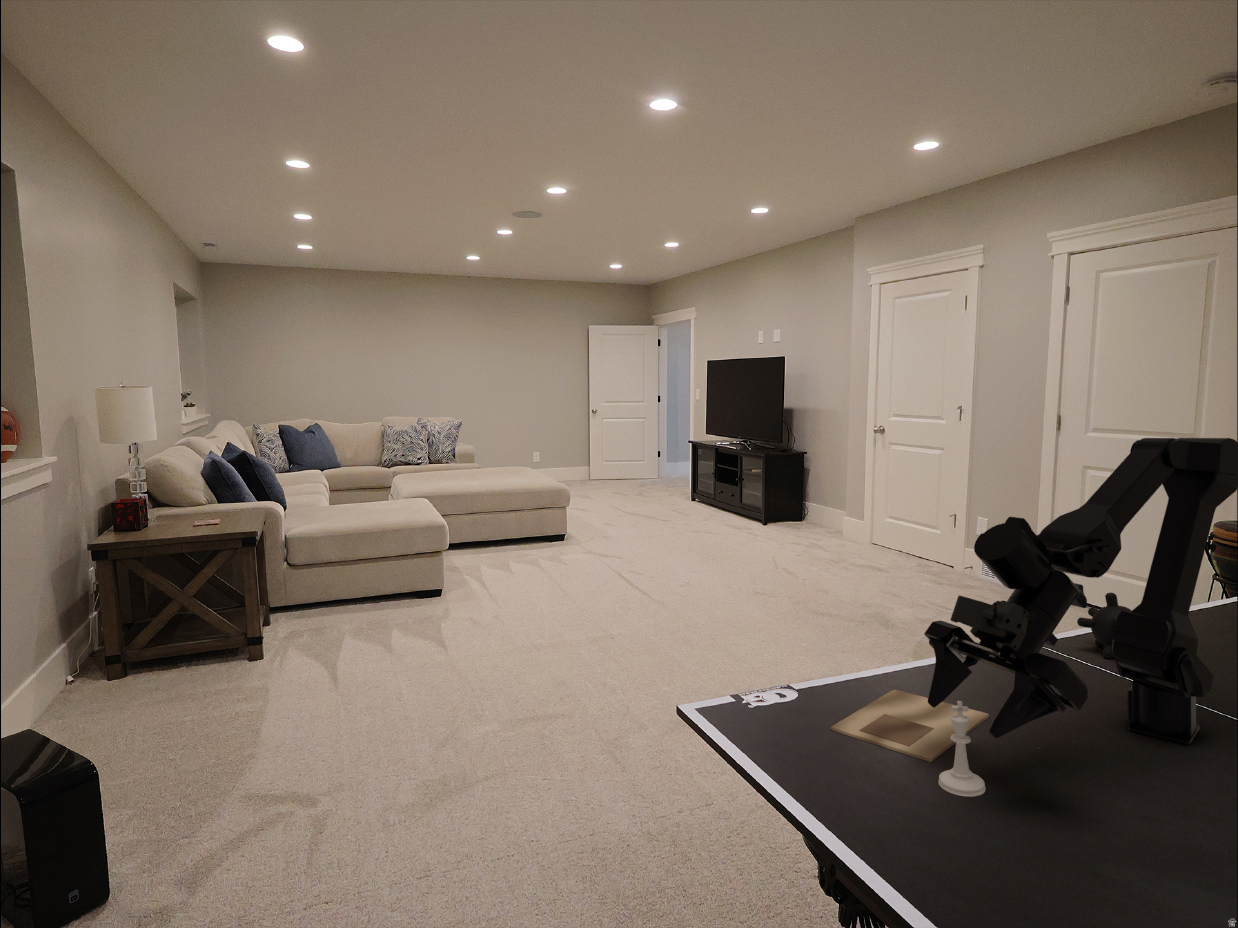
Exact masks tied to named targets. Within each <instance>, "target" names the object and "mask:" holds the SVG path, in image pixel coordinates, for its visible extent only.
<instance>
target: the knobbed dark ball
mask: <svg viewBox="0 0 1238 928" xmlns="http://www.w3.org/2000/svg"><path fill="white" fill-rule="evenodd" d="M1104 597H1105V602H1106V603H1105V604H1106V606H1103V607H1101V608H1100V609H1098V608H1096V607H1092V606H1091V607H1089V608H1088V610H1087V613H1088V615H1089V616H1090V617H1091V618H1087V617H1078V619H1077V621H1076V623H1077V626H1079V627H1082V628H1087V629H1090V631H1091V632H1092V635H1093V637H1094V645H1095V646H1096V647H1098V648H1101V649H1102V648H1103V650H1102V656H1103V657H1104V658H1105V659H1108V660H1112V659H1113V658H1114V655H1113V653H1112V642H1113V640H1111V637H1112V635H1113V634H1114V631H1115V629H1116V624H1117V617H1118V615H1119V614H1120V612H1121V611H1127V612H1131V611H1132V610H1133V609H1131V608H1128V607H1126V606H1123V605H1119V602H1118V596H1117V594H1116V593H1114V592H1107V593H1106V594H1105V595H1104Z"/></svg>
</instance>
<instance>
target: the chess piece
mask: <svg viewBox="0 0 1238 928" xmlns="http://www.w3.org/2000/svg"><path fill="white" fill-rule="evenodd" d="M956 702H957V703H956V706H952V711H958V714H957V715H953V716H951V722H952V724H953V727H954V730H955V732H956V733H955V734H952V735H951V740H952V741H954V742H956V743H955V751H954V754H955V755H954V759H953V760H954V762H953V767H952V768H951V769H948V770H944V771H942V772H941V773H940V774H939V776H938V786H940V788H942V789H943V790H944V791H945V792H948V793H949V794H952V795H955V796H958V797H959V796H961V797H967V798H968V797H970V798H972V797H978V796H982V795H983V794H984V793H985V792H986V785H985V783H986V782H985V781H984V779H982V778H981V776H979V775H978V774H976V773H973V772H972V771H971V770H970V767H969V761H968V755H967V747H966V745H967V744H969V743H971V742H972V741H971V737H970V736H969V735H968V734H966V731H967V728H968V725H969V723H970V719H969V718H968V717H967V716H964V715H963V711H964V712H968V709H969V707H968V705H967V706H966V705H965V706H964V705H963V701H962V700H957V701H956ZM965 734H966V735H965Z"/></svg>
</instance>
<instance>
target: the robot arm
mask: <svg viewBox="0 0 1238 928" xmlns="http://www.w3.org/2000/svg"><path fill="white" fill-rule="evenodd" d="M1162 486H1163V489H1164V490H1165V493H1166V496H1167V497H1168V498H1167V504H1166V507H1165V512H1164V515H1163V519H1162V522H1161V525H1160V526H1161V527H1160V530H1159V534H1158V539H1157V542H1156V546H1155V550H1154V553H1153V557H1152V560H1151V564H1150V568H1149V572H1148V576H1147V579H1146V583H1145V588H1144V591H1143V595H1142V598H1141V601H1140V603H1139V604H1138V605H1137V606H1136V607H1134V608H1133V609H1131V610H1132V611H1131V612H1127V611H1121V612H1120V614H1119V615H1118V617H1117V624H1116V629H1115V631H1114V634H1113V635H1112V637H1111V640H1113V642H1112V653H1113V655H1114V657H1113V658H1114V662H1115V664H1116V668H1117V672H1118V675H1119V677H1121V678H1125V679H1130V680H1132V681H1131V687H1130V688H1129V689H1128V690H1127V691H1126V704H1127V705H1126V709H1127V710H1126V712H1127V714H1126V719H1127V721H1128V722H1130V723H1129V724H1128V729H1127V730H1129V731H1131V732H1135V733H1140V734H1144V735H1147V736H1152V737H1156V738H1159V739H1164V740H1167V741H1168V740H1169V741H1172V742H1177V743H1181V744H1186V745H1190V744H1192V742H1193V741H1194V739H1195V738H1196V736H1197V734H1198V732H1199V731H1200V726H1201V725H1200V724H1198V723H1197V698H1198V697H1199V698H1205V697H1206V696H1207V693H1210V692H1211V690H1212V687H1213V682H1214V674H1213V673H1212V672H1211V671H1210V670H1209V668H1208V667H1207V666H1206V664H1205V663H1203V661H1202V660H1201V659H1200V657H1198V655H1197V650H1198V647H1199V645H1198V644H1199V639H1198V636H1197V634H1196V631H1195V629H1194V627H1193V623H1192V621H1191V619H1190V617H1189V614H1190V609H1191V606H1192V605H1191V604H1192V600H1193V598H1194V594H1195V589H1196V586H1197V582H1198V578H1199V574H1200V570H1201V566H1202V564H1203V558H1204V555H1205V552H1206V547H1207V543H1208V539H1209V535H1210V531H1211V528H1212V524H1213V521H1214V520H1213V519H1214V516H1215V512H1216V509H1217V507H1219V506H1220V505H1221V504H1223V502H1224V501H1226V500H1227V499H1229V497H1231V496H1232V495H1233V494H1234V493H1235V492H1237V490H1238V441H1237V440H1236V439H1234V438H1231V437H1178V438H1177V437H1176V438H1175V437H1143V438H1140V439H1137V440H1135V441H1134V442H1133V443H1132V445H1131V446H1130V451H1129V454H1127V456H1126V457H1125V458H1124V459H1123V461H1121V463H1119V465H1118V466H1117V467H1116V468H1115V470H1114V471H1113V472H1111V473H1110V475H1109V476H1108V477H1107V478H1106V480H1104V482H1103V483H1102V484H1101V485H1100V486H1099V487H1098V489H1097V490H1095V491H1094V493H1093V494H1092V495H1091V496H1090V497H1089V498H1088V499H1087V501H1086V502H1085V503H1084V504H1083V505H1082V506H1080V507H1078V508H1076V509H1074V510H1072V511H1068V512H1066V513H1063V514H1061V515H1059V516H1057V517H1056V518H1055V519H1053V520H1052V521H1051V522H1050V523H1049V524H1048V525H1046V526H1045V527H1043V528H1042V530H1041V531H1040V532H1039V534H1036V533H1035V532H1034V531H1033V529H1032V526H1031V525H1030V524H1029V523H1028V521H1027V519H1025V518H1023V517H1018V516H1017V517H1016V516H1008V518H1006V520H1005V522H1003V523H999V524H996V525H993V526H991V527H990V528H988V529H987V530H986V531H984V532H983V533H980V534H979V535H978V537H977V538H976V540H975V542H974V545H973V549H974V551H973V552H974V553H975V555H976V557H977V558H979V560H980V561H981V563H983V564H984V565H985V566H986V568H987V569H988V570H989V571H990V572H991V573H992V575H994V576H995V578H996V579H997V580H998V581H999V582H1000V583H1001V585H1003V586H1004V587H1005V588H1007V589H1009V590H1013V591H1012V592H1011V594H1010V596H1009V597H1008V599H1006V600H1004V599H1003V600H997V601H995V602H993V603H992V604H991V603H987V602H985V601H981V600H978V599H973V598H972V597H971V598H970V597H966V596H963V595H959V594H958V596H957V598H956V602H955V604H954V608H953V611H952V614H951V617H950V620H949V621H950V622H947V621H944V620H935V621H932V622H931V623H930V625H929V626H928V628H926V630H925V632H924V633H923V635H924V636H925V637H926V638H927V639H928V645H929V646H930V647H931V648H932V649H933V651H934V656H935V664H934V670H933V676H932V680H931V685H930V689H929V694H928V697H927V698H928V704H929V705H930V706H932V707H933V708H935V707H936V706H937V705H939V704H940V703H941V702H945V700H946V699H947V698H948V697H949V696H950V695H951V694H952V693H953V692H954V691H955V690H956V689H957V688H958V687H959V686H960V685H961V684H962V683H964V681H965V680H967V678H968V677H969V676H971V674H972V673H973V671H972V670H971V669H970V667H972V666H976V665H977V664H978V662H979V661H980V662H982V663H985V664H986V665H987V664H988V665H990V666H992V667H993V666H994V667H996V668H998V669H1001V670H1003V671H1007V672H1009V673H1012V674H1014V679H1013V681H1014V683H1013V690H1012V692H1011V693H1010V694H1009V696H1008V698H1007V699H1006V701H1005V702H1004V704H1003V706H1002V707H1001V709H1000V711H999V712H998V713H997V715H996V717H995V718H994V720H993V723H992V725H991V727H990V729H989V730H988V731H989V732H988V733H989V735H991V737H993V738H994V739H999V738H1001V737H1002V736H1005V735H1006V734H1008V733H1010V732H1013V731H1014V730H1017V729H1018V728H1020V727H1022V726H1025V725H1027V724H1029V723H1030V722H1033V721H1036V720H1038V719H1040V718H1043V717H1045V716H1048V715H1050V714H1053V713H1055V712H1061V713H1063V714H1064V713H1065V712H1066V711H1067V708H1069V709H1072V710H1074V711H1076V712H1078V711H1081V709H1082V708H1083V706H1084V704H1085V702H1086V701H1087V699H1088V697H1089V696H1088V693H1089V692H1088V691H1089V690H1088V686H1087V684H1085V682H1084V681H1083V680H1082V679H1081V677H1079V675H1077V673H1076V672H1075V671H1074V670H1073V669H1072V668H1071V666H1069V665H1068V664H1067V662H1065V661H1063V660H1061V659H1057V658H1056V657H1052V656H1049V655H1046V654H1043V653H1040V652H1041V651H1042V649H1043V648H1044V647H1045V645H1049V646H1051V647H1055V645H1056V644H1057V642H1058V641H1059V639H1058V637H1057V636H1056V635H1055V634H1054V631H1055V630H1056V628H1057V627H1058V625H1059V624H1060V622H1061V621H1062V619H1063V618H1064V616H1065V615H1066V613H1067V612H1068V611H1069V609H1070V607H1071V606H1073V607H1078V608H1080V609H1081V608H1082V609H1086V608H1087V607H1088V598H1087V597H1086V594H1085V593H1084V585H1083V584H1079V583H1075V582H1073V580H1072V579H1071V578H1070V576H1068V574H1070V575H1073V576H1080V577H1084V578H1097V579H1098V578H1101V577H1103V576H1104V575H1105V574H1106V573H1107V572H1108V571H1109V570H1110V568H1111V567H1112V565H1113V564H1114V562H1115V560H1116V559H1117V557H1118V555H1119V554H1120V552H1121V551H1122V540H1121V539H1122V538H1121V534H1122V533H1123V531H1124V529H1125V528H1126V527H1127V526H1128V524H1129V523H1130V522H1131V521H1132V520H1133V519H1134V517H1135V516H1136V515H1137V514H1138V512H1139V511H1140V510H1141V509H1142V508H1144V506H1145V505H1146V503H1147V502H1148V501H1150V499H1151V498H1152V497H1153V495H1154V494H1155V493H1156V492H1157V491H1158V490H1159V488H1160V487H1162ZM951 622H953V623H960V624H963V625H964V626H968V627H970V628H971V629H970V630H969V632H970V633H971V634H972V635H973V636H974V637H975V638H977V639H979V640H980V641H979V642H976V641H975V640H974V639H973V638H972V637H971V636H970V635H969V634H968V633H967V632H966V631H965V630H964V628H962V627H961V626H960V625H959V626H958V625H955V624H953V623H951Z"/></svg>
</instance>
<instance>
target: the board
mask: <svg viewBox="0 0 1238 928" xmlns="http://www.w3.org/2000/svg"><path fill="white" fill-rule="evenodd" d="M952 706H957V704H953V703H949V702H945V701H942V702H941V703H940V704H939V705H937V706H936V707H935V708H933V707H932V706H930V705H929V704H928V697H925V696H921V695H919V694H918V695H917V694H913V693H909V692H906V691H902V690H897V689H893V690H892V689H891V690H890V691H889V692H887V693H885V694H883V695H881V696H880V697H879V698H877V699H875V700H874V701H872V702H870V703H868V704H866V705H865V706H864V707H862V708H860V709H859V710H857V711H854V713H852V714H850V715H849V716H847V717H845V718H843V719H841V720H840V721H838V722H836V723H835V724H833V725H831V726H830V731H833V732H837V733H839V734H842V735H845V736H849V737H852V738H855V739H858V740H861V741H863V742H867V743H870V744H874V745H877V746H880V747H882V748H885V749H889V750H892V751H894V752H897V753H900V754H904V755H907V756H911V757H913V758H915V759H919V760H921V761H925V762H929V763H932V762H933V761H935V760H936V759H937V758H938V757H940V756H941V755H942V754H943V753H945V752H946V751H947V750H948V749H950V748H951V747H952V746H953V745H956V742H954V741H952V740H951V735H952V734H955V733H956V732H955V730H954V727H953V724H952V722H951V716H953V715H957V714H958V711H952ZM963 715H964V716H967V717H968V718H969V719H970V723H969V725H968V728H967V731H966V734H965V735H968V734H969V733H971V732H972V731H973V730H974V729H976V727H978V726H980V724H981V723H983V722H984V721H985V720H986V719H988V718H990V714H989V713H987V712H983V711H980V710H975V709H971V708H968V712H964V711H963Z"/></svg>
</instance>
